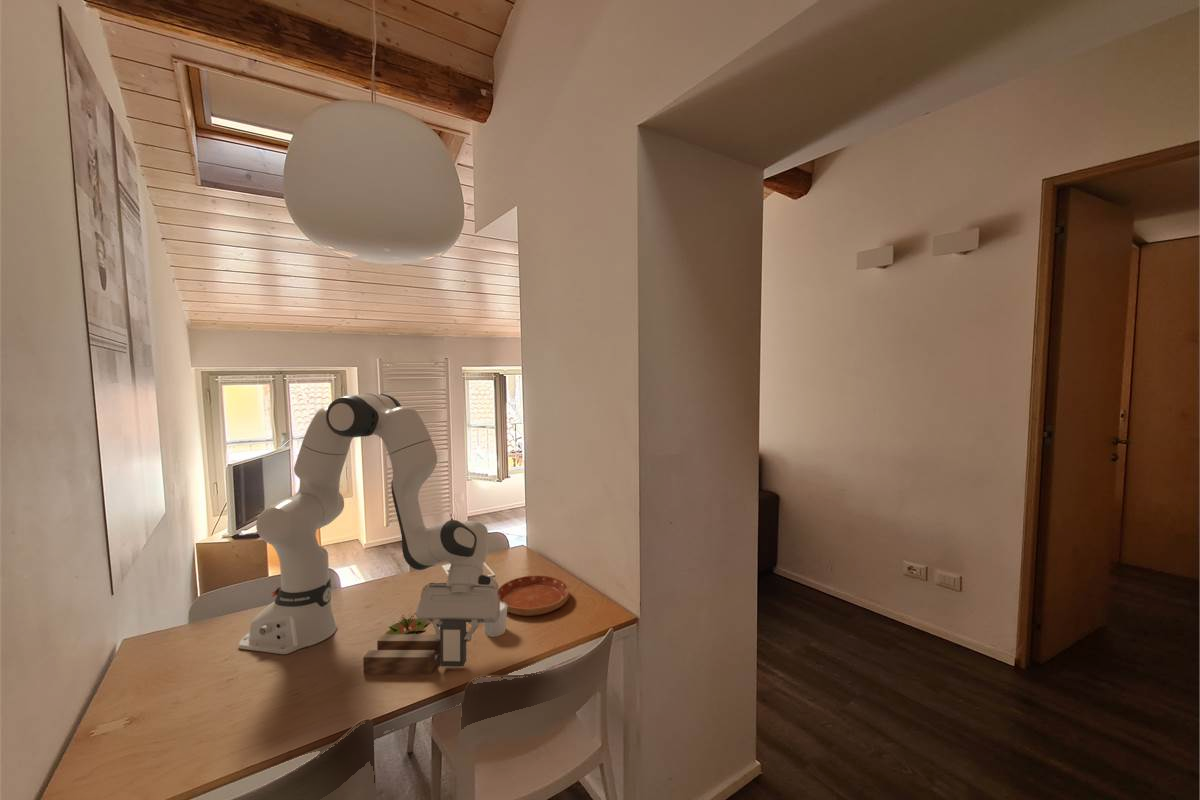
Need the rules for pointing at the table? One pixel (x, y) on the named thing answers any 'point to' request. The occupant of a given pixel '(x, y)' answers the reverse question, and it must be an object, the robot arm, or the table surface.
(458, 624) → the small frame
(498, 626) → the white cylinder
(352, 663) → the table surface
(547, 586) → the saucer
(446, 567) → the photo frame
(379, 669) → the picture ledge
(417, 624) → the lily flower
